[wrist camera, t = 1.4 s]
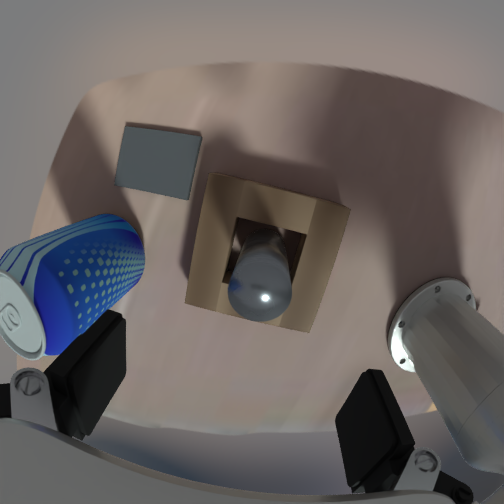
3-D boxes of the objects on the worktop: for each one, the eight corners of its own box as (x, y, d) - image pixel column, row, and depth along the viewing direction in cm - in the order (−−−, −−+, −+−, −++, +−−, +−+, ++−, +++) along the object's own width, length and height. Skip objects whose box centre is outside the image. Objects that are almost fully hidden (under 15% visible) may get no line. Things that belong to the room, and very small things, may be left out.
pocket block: (342, 204, 26) (350, 209, 23) (306, 317, 29) (309, 332, 26) (215, 172, 26) (208, 173, 23) (192, 290, 29) (184, 303, 26)
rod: (290, 234, 27) (299, 271, 17) (279, 273, 28) (282, 327, 18) (248, 224, 27) (234, 255, 17) (239, 264, 28) (222, 313, 18)
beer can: (87, 206, 27) (-29, 244, 12) (154, 219, 27) (43, 276, 12) (85, 276, 30) (-8, 344, 14) (147, 295, 30) (65, 389, 14)
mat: (202, 137, 25) (200, 136, 24) (188, 199, 26) (187, 200, 26) (128, 126, 25) (125, 126, 24) (117, 184, 26) (114, 185, 26)
